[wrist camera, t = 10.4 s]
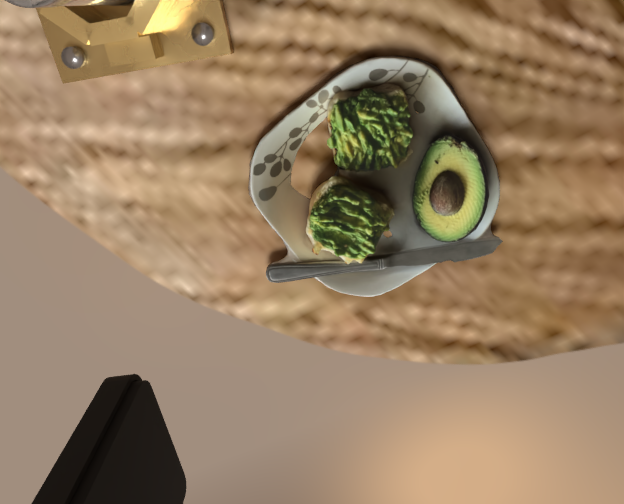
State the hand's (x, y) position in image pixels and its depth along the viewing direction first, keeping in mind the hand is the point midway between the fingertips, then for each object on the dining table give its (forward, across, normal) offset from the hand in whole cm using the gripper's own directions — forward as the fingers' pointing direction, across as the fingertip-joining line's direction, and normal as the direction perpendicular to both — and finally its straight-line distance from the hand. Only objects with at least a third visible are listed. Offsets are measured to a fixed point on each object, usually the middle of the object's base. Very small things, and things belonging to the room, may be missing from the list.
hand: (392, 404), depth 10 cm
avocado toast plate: (+31, -2, +6) cm, 32 cm away
